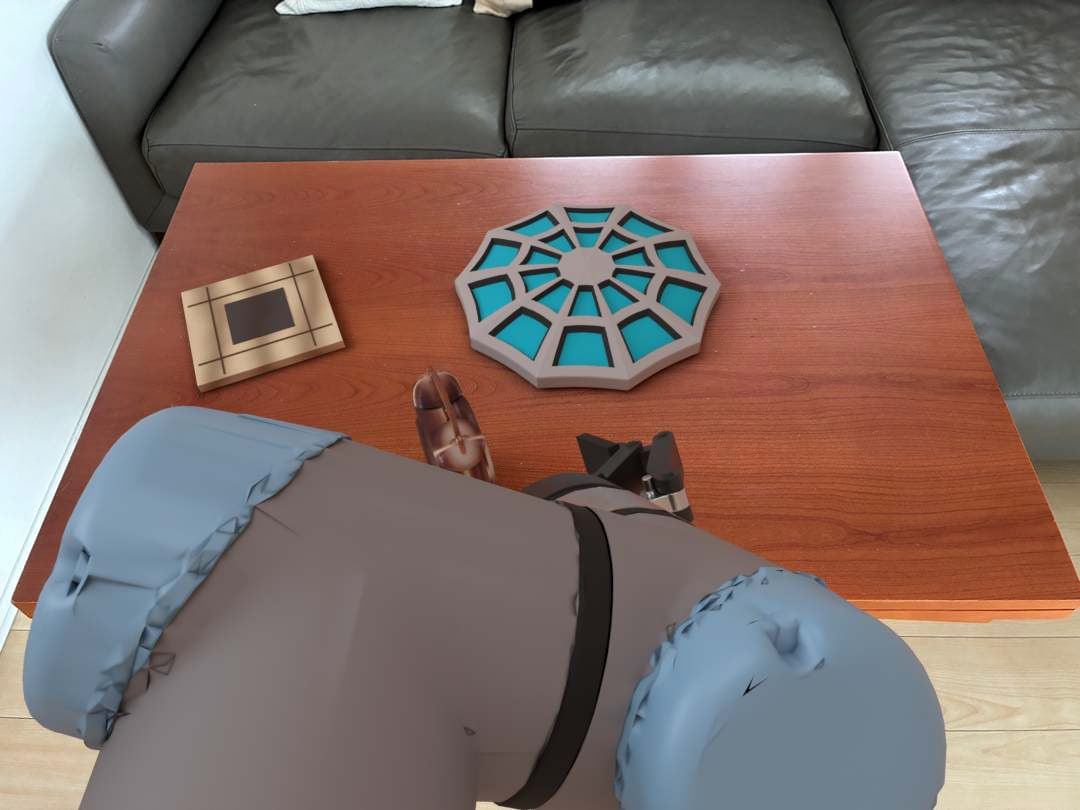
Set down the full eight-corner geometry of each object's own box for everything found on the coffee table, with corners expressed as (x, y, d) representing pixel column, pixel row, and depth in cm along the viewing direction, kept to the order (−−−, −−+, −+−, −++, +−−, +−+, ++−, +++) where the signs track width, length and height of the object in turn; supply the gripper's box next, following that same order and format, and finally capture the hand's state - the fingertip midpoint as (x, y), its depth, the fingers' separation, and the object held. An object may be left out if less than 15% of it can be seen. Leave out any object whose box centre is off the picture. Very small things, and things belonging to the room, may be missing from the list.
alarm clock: (504, 524, 72) (490, 428, 60) (456, 542, 71) (431, 448, 59) (467, 437, 78) (448, 335, 66) (422, 453, 77) (394, 352, 65)
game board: (201, 393, 83) (196, 385, 82) (184, 299, 92) (180, 291, 91) (345, 347, 86) (342, 339, 85) (315, 261, 96) (312, 253, 95)
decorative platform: (438, 389, 82) (431, 358, 78) (471, 216, 100) (466, 184, 96) (730, 396, 80) (738, 364, 76) (709, 218, 98) (714, 185, 94)
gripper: (316, 798, 28) (328, 610, 49) (876, 550, 34) (675, 475, 54) (243, 614, 27) (287, 501, 48) (834, 388, 32) (645, 374, 53)
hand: (493, 487), depth 51 cm, fingers open, 13 cm apart
